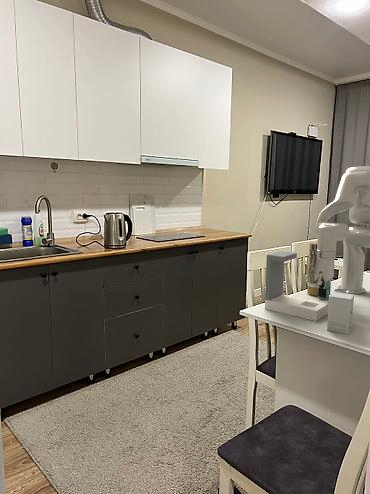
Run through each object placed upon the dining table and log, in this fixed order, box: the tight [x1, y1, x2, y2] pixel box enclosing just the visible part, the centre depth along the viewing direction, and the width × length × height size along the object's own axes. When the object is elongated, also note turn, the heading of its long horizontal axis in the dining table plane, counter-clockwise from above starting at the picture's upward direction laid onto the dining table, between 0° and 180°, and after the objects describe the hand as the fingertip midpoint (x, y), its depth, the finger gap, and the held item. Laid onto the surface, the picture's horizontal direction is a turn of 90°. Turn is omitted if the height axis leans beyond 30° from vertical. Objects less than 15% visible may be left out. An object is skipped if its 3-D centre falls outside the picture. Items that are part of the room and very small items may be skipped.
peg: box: [318, 280, 331, 302], centre depth 160 cm, size 4×4×10 cm
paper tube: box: [306, 240, 319, 297], centre depth 176 cm, size 7×7×25 cm
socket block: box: [264, 250, 329, 322], centre depth 151 cm, size 12×22×23 cm, turn 49°
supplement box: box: [326, 291, 355, 335], centre depth 132 cm, size 7×7×13 cm
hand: (324, 295), depth 161 cm, fingers closed on peg, 4 cm apart
